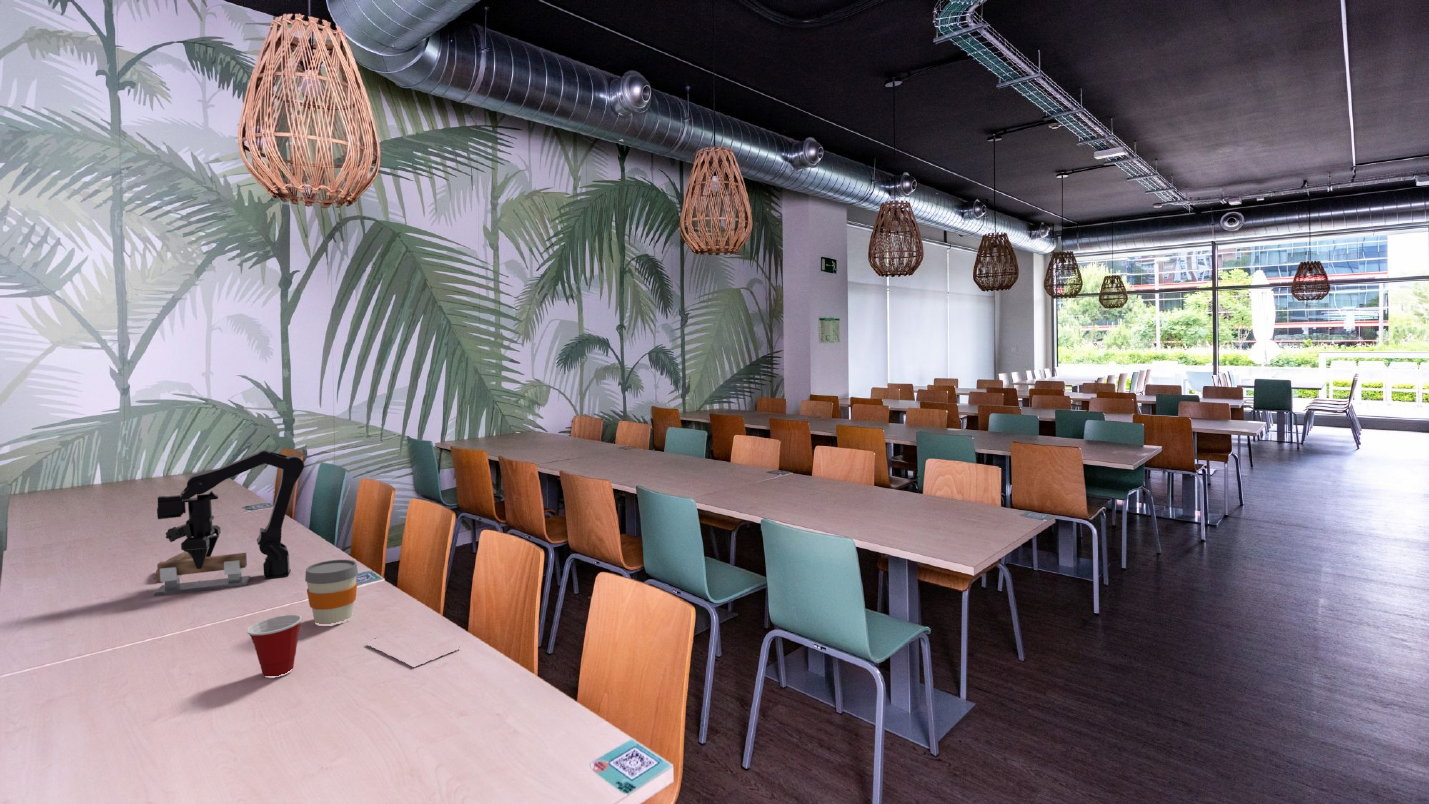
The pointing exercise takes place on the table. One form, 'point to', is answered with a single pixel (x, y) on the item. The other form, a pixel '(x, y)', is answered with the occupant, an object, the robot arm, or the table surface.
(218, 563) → the rail
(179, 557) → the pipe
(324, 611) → the reusable coffee cup
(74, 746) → the table surface
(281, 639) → the plastic cup
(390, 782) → the table surface
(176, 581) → the bracket stand
